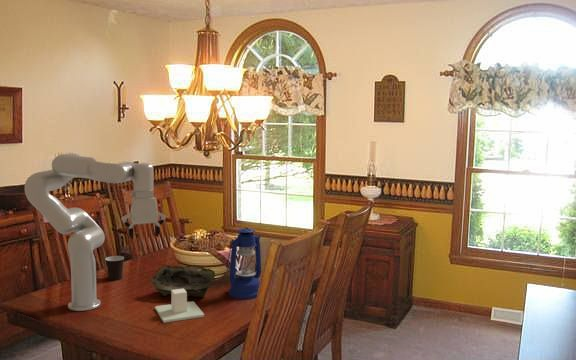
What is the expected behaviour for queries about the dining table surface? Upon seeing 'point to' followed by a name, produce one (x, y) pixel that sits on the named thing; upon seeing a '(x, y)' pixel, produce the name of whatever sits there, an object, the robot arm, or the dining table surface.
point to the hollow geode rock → (183, 279)
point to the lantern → (244, 282)
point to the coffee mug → (114, 267)
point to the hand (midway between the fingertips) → (144, 237)
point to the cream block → (179, 300)
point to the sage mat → (169, 315)
